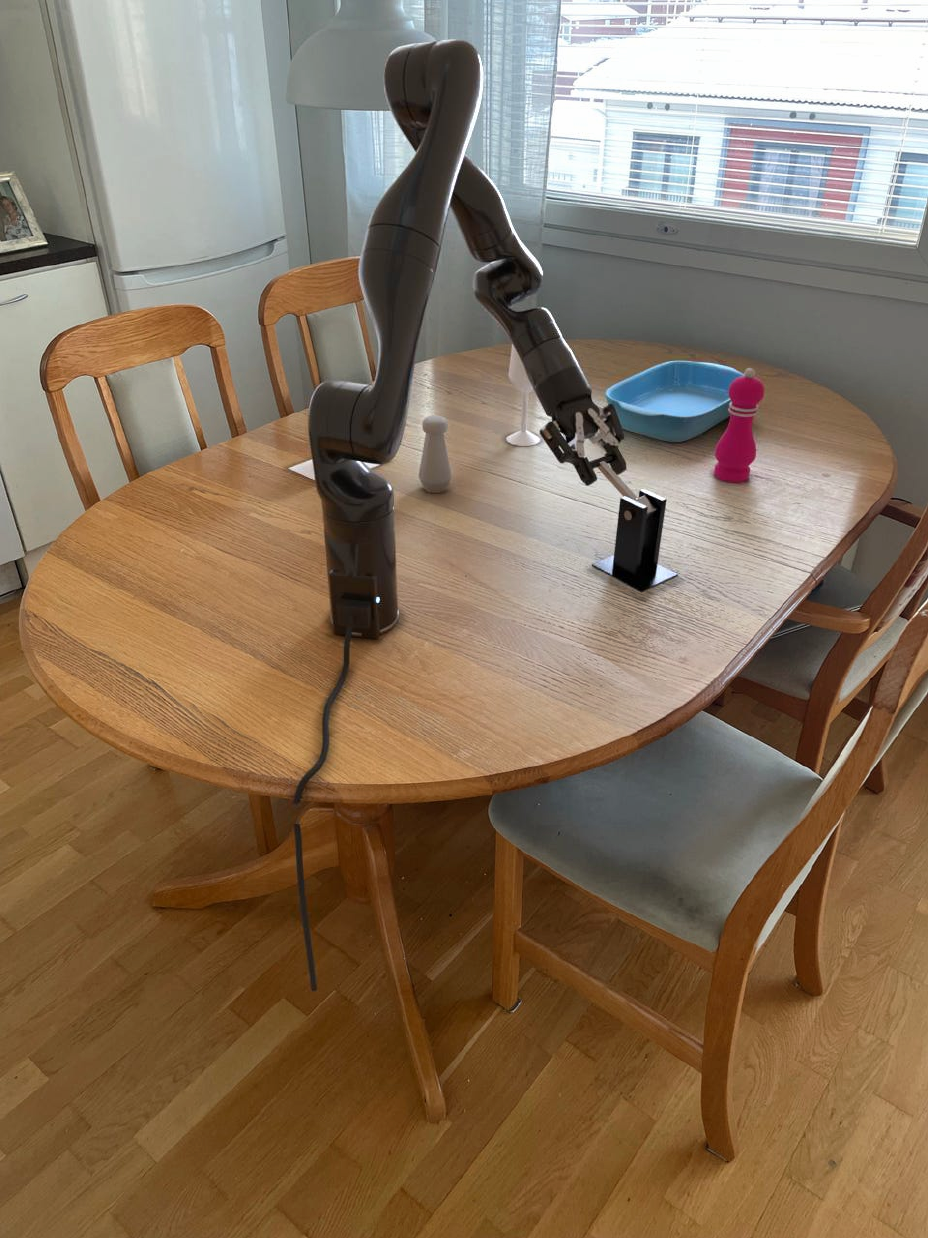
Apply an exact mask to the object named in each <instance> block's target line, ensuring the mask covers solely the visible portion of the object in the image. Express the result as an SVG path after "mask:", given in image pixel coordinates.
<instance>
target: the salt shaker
mask: <svg viewBox="0 0 928 1238" xmlns="http://www.w3.org/2000/svg"><path fill="white" fill-rule="evenodd" d="M421 426H422V427H421V428H422V432H424V433H425V435H424V441H423V446H422V452H421V460H420V465H419V470H418V479H419V482H420V483H421V486H422V487H423V489H424V490H425V491H426V492H428V493H435V494H439V493H442V492H445V491H447V489H448V488H449V487H448V486H449V484H450V482H451V480H452V477H453V474H452V469H451V464H450V458H449V454H448V449H447V443H446V439H445V433H447V431H448V426H449V425H448V420H447V419H446V418H445V417H444V416H441V415H428V416H427V417H425V418H424V419H423V420H422V424H421Z"/></svg>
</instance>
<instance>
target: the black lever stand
mask: <svg viewBox="0 0 928 1238" xmlns="http://www.w3.org/2000/svg"><path fill="white" fill-rule="evenodd" d="M638 491H639V492H638V498H640V497H642V496H645V497H646V498H647V499H648V500H649V501H650V502H651V503H652V504H653V505H654V507H655V508H656V511H655V513H654V514H653V516H652V517H651V519H650V520H648V521H646V517H647V509H648V507H647V506H645V505H643V504H641V503H639V502H636V501H634V500H632V499H630V498H628V497H626V496H624V497H623V496H622V497H620V498H619V506H618V516H617V525H616V533H615V540H614V541H615V542H614V550H613V551H614V553H613V554H612V555H611V556H607V557H605V558H604V559H600V560H599V561H597V562H594V563H592V564H591V566H592V567H593V568H596V569H597V570H599V571H600V572H603V573H604V574H606V575H608V576H610V577H612V578H614V579H616V580H618V581H619V582H621V583H622V584H625V585H626V586H628V587H630V588H632V589H633V590H636V591H638V592H639V593H644V592H646V591H648V590H650V589H652V588H655V587H656V586H659V585H660V584H663V583H666V582H667V581H669V580H671V579H674V578H675V577H678V576H679V574H678V573H677V572H674V571H673V570H671V569H669V568H667V567H665V566H663V565H662V564H659V557H660V549H661V544H662V537H663V536H662V534H663V528H664V521H665V515H666V508H667V498H665V497H663V496H660V495H658V494H656V493H655V492H652V491H649V490H647V489H645V488H643V489H640V490H638Z"/></svg>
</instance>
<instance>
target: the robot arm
mask: <svg viewBox="0 0 928 1238" xmlns="http://www.w3.org/2000/svg"><path fill="white" fill-rule="evenodd" d="M483 89H484V69H483V63H482V59H481V56H480V53H479V51H478V50H477V48H476V47H475V46H474V45H473V44H472V43H470V42H468V41H467V40H463V39H443V40H435V41H427V42H419V43H418V42H417V43H411V44H406V45H401V46H398V47H396V48H395V49H393V50H392V51H391V52H390V54H389V55H388V57H387V59H386V62H385V64H384V69H383V90H384V96H385V99H386V103H387V106H388V108H389V110H390V111H389V112H391V115H392V117H393V119H394V121H395V122H396V124H397V126H398V127H399V129H400V131H401V132H402V134H403V135H404V137H405V138H406V140H407V141H408V143H409V144H410V146H411V148H412V150H413V151H414V152H415V153H414V155H413V157H412V159H411V160H410V161H409V163H408V164H407V165H406V167H405V168H404V169H403V170H402V171H401V173H400V174H399V175H398V176H397V178H396V179H395V180H394V181H393V182H392V184H391V185H390V186H389V187H388V189H387V190H386V191H385V192H384V193H383V195H382V197H381V198H380V199H379V201H378V203H376V205H375V207H374V209H373V210H372V212H371V214H370V217H369V220H368V223H367V226H366V230H365V234H364V239H363V244H362V248H361V253H360V256H359V262H358V272H357V275H358V281H359V286H360V290H361V292H362V296H363V299H364V302H365V305H366V308H367V310H368V313H369V316H370V319H371V321H372V324H373V327H374V332H375V335H376V340H377V347H378V357H377V368H376V374H375V378H374V382H373V385H372V384H367V383H360V382H354V381H353V382H352V381H346V380H340V379H339V380H338V379H328V380H324V381H322V382H321V383H320V384H319V385H318V386H317V387H316V388H315V390H314V392H313V393H312V395H311V399H310V401H309V406H308V411H307V412H308V414H307V431H308V441H309V448H310V454H311V460H312V461H313V469H314V476H315V480H314V484H315V489H316V492H317V494H318V497H319V498H320V502H321V511H322V513H321V514H322V522H323V523H322V525H323V538H324V548H325V550H324V551H325V560H326V572H327V585H328V586H327V587H328V595H329V596H328V598H329V607H330V615H329V616H330V617H329V618H330V624H331V626H332V629H333V634H334V635H338V636H345V637H344V642H343V664H342V669H341V673H340V676H339V678H338V681H337V683H336V685H335V687H334V688H333V690H332V691H331V693H330V695H329V696H328V698H327V700H326V702H325V704H324V708H323V712H322V719H321V728H322V730H321V731H322V744H321V750H320V754H319V758H318V760H317V761H316V763H314V765H313V766H312V767H311V768H310V769H309V770H307V772H306V773H305V774H304V775H303V777H302V778H301V779H300V781H299V783H298V785H297V787H296V791H295V793H294V797H293V804H294V805H298V804H300V803H301V799H302V796H303V792H304V790H305V787H306V785H307V783H308V782H309V781H310V780H311V779H312V777H313V776H315V775H316V774H317V773H318V772H319V771H320V769H322V767H323V765H324V763H325V761H326V759H327V756H328V752H329V746H330V730H329V729H330V728H329V719H330V712H331V708H332V705H333V702H334V701H335V699H336V698H337V696H338V694H339V693H340V691H341V689H342V687H343V686H344V683H345V681H346V679H347V676H348V672H349V668H350V648H351V647H350V646H351V641H352V637H354V638H364V639H371V640H378V639H379V637H380V636H381V635H383V634H385V633H387V632H389V631H391V630H392V629H393V628H395V627H396V626H397V624H398V622H399V620H400V612H399V602H398V578H397V552H396V521H395V519H396V518H395V493H394V488H393V486H392V483H390V481H389V480H388V479H387V478H385V477H384V476H382V475H381V474H380V473H378V472H376V471H374V470H373V468H371V469H370V468H369V467H368V466H367V465H365V464H364V463H363V462H365V463H371V464H378V466H380V465H381V466H382V465H386V464H389V463H391V461H392V460H393V459H394V458H395V457H396V455H397V453H398V451H399V449H400V447H401V444H402V441H403V438H404V434H405V429H406V424H407V419H408V412H409V406H410V401H411V399H410V398H411V393H412V384H413V380H414V372H415V364H416V360H417V359H416V358H417V352H418V348H419V341H420V336H421V333H422V328H423V323H424V320H425V315H426V310H427V306H428V303H429V299H430V296H431V292H432V287H433V284H434V281H435V277H436V271H437V267H438V263H439V259H440V254H441V251H442V244H443V239H444V235H445V230H446V224H447V220H448V216H449V211H450V210H451V212H452V214H453V217H454V219H455V221H456V224H457V226H458V229H459V230H460V233H461V235H462V238H463V240H464V242H465V244H466V248H467V250H468V251H469V253H470V255H471V257H472V258H473V259H474V260H476V261H477V262H480V263H487V264H486V265H484V266H483V267H480V268H479V269H478V270H476V271H475V273H474V274H473V276H472V281H471V287H472V293H473V296H474V298H475V300H476V301H477V302H478V303H479V305H480V306H481V307H482V308H483V309H484V311H486V313H488V315H490V316H491V317H492V318H493V319H494V321H495V322H497V325H499V326H500V327H501V329H502V330H503V332H505V334H506V336H507V337H508V339H509V340H510V342H511V345H512V344H513V346H514V348H515V350H516V352H517V354H518V355H519V357H520V359H521V361H522V364H523V366H524V369H525V372H526V374H527V377H528V379H529V381H530V383H531V385H532V387H533V391H534V393H535V395H536V397H537V399H538V401H539V403H540V405H541V407H542V409H543V411H544V413H545V415H546V416H547V417H550V418H551V421H548V422H547V423H546V424H545V425H544V426H542V427H541V428H540V429H539V432H538V433H539V435H540V437H542V439H543V441H544V442H545V444H546V445H547V447H548V448H549V450H550V451H551V452H552V454H553V455H554V457H555V458H556V460H557V461H558V463H560V464H565V463H569V464H570V465H572V466H573V468H574V469H575V471H576V473H577V475H578V477H579V479H580V481H581V482H582V483H583V484H584V485H585V486H591V485H593V484H594V483H596V482H597V481H598V476H597V473H596V472H595V470H594V469H593V468H592V466H591V464H590V462H589V461H590V460H589V459H588V456H585V455H586V453H585V447H584V446H585V445H584V443H585V440H588V441H590V442H591V443H592V444H594V445H595V444H596V445H597V446H598V447H599V448H600V449H601V450H602V451H603V452H604V456H607V455H610V454H613V455H614V457H615V461H614V462H611V463H609V464H608V465H609V466H610V468H611V469H612V470H613V471H614V472H615V473H616V474H617V475H618V476H619V475H621V474H622V473H625V471H627V462H626V460H625V458H624V456H623V454H622V453H621V450H620V448H619V445H620V443H621V442H622V441H623V440H625V439H626V435H625V433H624V429H622V427H621V424H620V421H619V418H618V415H617V412H616V410H615V407H614V405H613V404H608V403H607V405H606V406H599V405H598V404H596V403H595V401H594V400H593V399H592V394H593V391H592V388H591V386H590V384H589V381H588V380H587V378H586V376H585V373H584V372H583V370H582V368H581V366H580V364H579V362H578V360H577V359H576V356H575V354H574V353H573V350H572V348H571V347H570V346H569V345H568V343H567V342H566V340H565V339H564V336H563V334H562V333H561V331H560V329H559V327H558V325H557V323H556V321H555V319H554V317H553V315H552V313H551V312H550V310H549V309H547V307H544V306H537V307H532V308H529V309H528V308H527V309H524V310H514V309H512V307H514V306H516V305H518V304H519V303H522V302H523V301H525V300H528V299H529V298H530V297H532V296H535V295H536V294H537V293H539V292H540V290H541V288H542V286H543V284H544V271H543V269H542V266H541V263H540V262H539V260H537V258H536V257H535V256H534V254H533V253H532V252H531V251H530V250H529V249H528V247H527V246H526V245H525V243H523V241H522V240H521V239H520V237H519V235H518V233H517V232H516V230H515V228H514V225H513V222H512V220H511V216H510V215H509V212H508V209H507V207H506V203H505V201H504V199H503V196H502V194H501V193H500V191H499V189H498V188H497V186H496V185H495V183H494V182H493V180H492V179H491V178H490V177H489V175H487V173H486V172H485V171H484V170H483V169H482V168H480V167H479V166H478V165H477V164H476V163H475V162H474V161H473V160H472V159H471V158H470V157H469V156H468V155H467V154H466V152H467V150H468V147H469V144H470V141H471V137H472V135H473V131H474V128H475V125H476V122H477V119H478V116H479V113H480V108H481V104H482V98H483ZM292 826H293V833H294V846H295V863H296V877H297V890H298V898H299V899H298V900H299V908H300V909H299V910H300V917H301V924H302V931H303V938H304V945H305V952H306V959H307V966H308V975H309V982H310V990H311V992H317V990H318V984H317V976H316V967H315V959H314V952H313V944H312V939H311V929H310V922H309V915H308V907H307V906H308V905H307V898H306V897H307V895H306V887H305V874H304V873H305V872H304V859H303V857H304V856H303V839H302V829H301V824H300V823H294V822H293V824H292Z"/></svg>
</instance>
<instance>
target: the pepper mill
mask: <svg viewBox="0 0 928 1238" xmlns="http://www.w3.org/2000/svg"><path fill="white" fill-rule="evenodd" d="M743 374H744V375H745V376H742V377H738V378H736V379H735V380H734V381H733V382H732V383H731V385H730V387H729V391H728V395H729V398H730V399H731V401H732V402H730V403H729V406H730V407H729V409H728V411H729V412H730V416H729V421H728V425H727V427H726V430H725V431H724V433H723V434H722V436H721V437H720V438H719V440H718V442H717V443H716V445H715V449H714V457H715V459H716V461H717V462H716V463H715V465H714V470H713V474H714V476H715V478H717V479H719V480H720V481H723V482H729V483H741V482H745V481H747V480H748V479H749V478H750V474H751V467H750V465H751V464H752V463H753V462H754V461H755V460H756V458H757V457H756V456H757V447H756V441H755V438H754V433H753V423H754V422H753V421H754V417H755V416H756V415H758V410H759V405H758V404H759V403H760V402H761V401H762V400H763V399H764V396H765V386H764V383H763V382H762V380H760V379H759V378H757V377H755V375H756V371H755V370H754V368H751V367H748V368H746V369H745V370H744V372H743Z"/></svg>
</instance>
